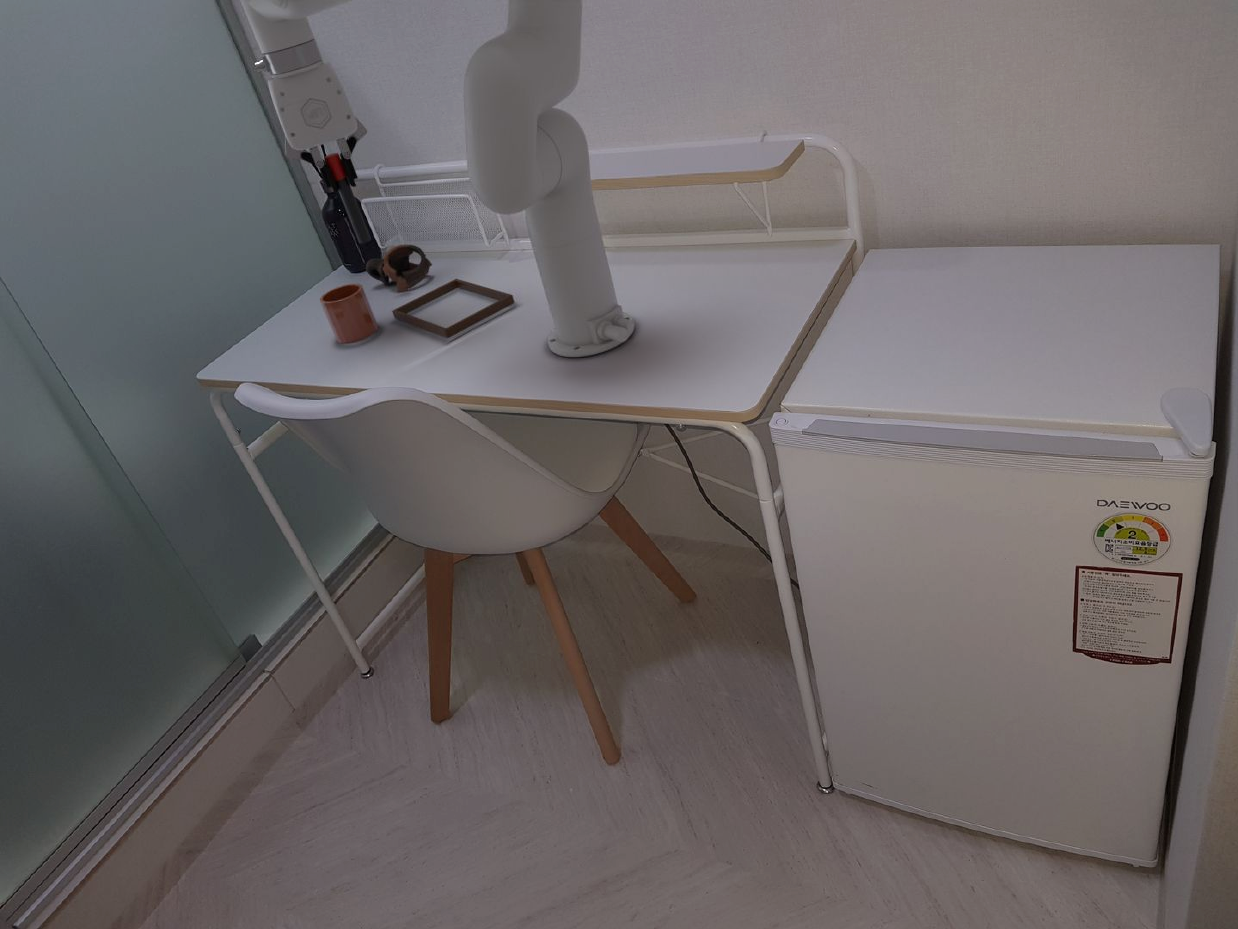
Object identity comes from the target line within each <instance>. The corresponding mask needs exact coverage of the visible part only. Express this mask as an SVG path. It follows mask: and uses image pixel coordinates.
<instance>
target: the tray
mask: <svg viewBox="0 0 1238 929" xmlns="http://www.w3.org/2000/svg"><path fill="white" fill-rule="evenodd" d="M456 289H461V290H465V291H466V292H467V291H468V292H471V293H474V294H478V295H480V296H484V297H487V298H490V299H494V300H497V301H495V302H493V303H491V304H490V305H488V306H485V307H484V308H482V309H480V310H478V311H476V312H474V313H472V314H469V315H468V316H466V317H464V318H463V319H461V320H459V321H457V322H455V323H454V324H452V325H450V326H447V327H445V326H441V325H438V324H436V323H432V322H430V321H427V320H425V319H422V318H419V317H416V316H413V315H411V314H408V313H411V312H413V311H415V310H417V309H418V308H420V307H422V306H425V305H427V304H429V303H430V302H433V301H435V300H436V299H438V298H440V297H442V296H444V295H446V294H449V293H450V292H451V291H454V290H456ZM513 304H515V299H514V296H513V294H511V293H508V292H504V291H500V290H497V289H493V288H490V287H486V286H483V285H480V284H476V283H473V282H470V281H466V280H462V279H459V278H455V279H453V280H450V281H449V282H447V283H445V284H442V285H441V286H439V287H437V288H435V289H432V290H430V291H429V292H426V293H425V294H423V295H421V296H419V297H416V298H414V299H413V300H411V301H409V302H407V303H405V304H403V305H401V306H399V307H397V308H395V309H392V310H391V312H392V315H393V317H394V319H395V320H398V321H401V322H404V323H407V324H409V325H412V326H414V327H417V328H420V329H421V330H425V331H427V332H430V333H433V334H434V335H438V336H440V337H443V338H446V339H450V338H452V337H453V336H455V335H456V334H458V333H461V332H462V331H464V330H466V329H468V328H470V327H471V326H474V325H476V324H477V323H479V322H481V321H483V320H485V319H487V318H488V317H491V316H492V315H494V314H496V313H498V312H500V311H502V310H503V309H505V308H507V307H510V306H511V305H513ZM516 307H517V306H516V305H515V306H512V307H511V308H510V309H508V310H506V311H504V312H502V313H500V314H499V315H497V316H494V317H493V318H491V319H489V320H487V321H485V322H484V323H482V324H480V325H478V326H476V327H474V328H473V329H471V330H469V331H467V332H465V333H463V334H461V335H459V336H457V337H456V338H453V339H451V340H449V343H451V342H453V341H454V340H456V339H459V338H460V337H462V336H465V335H466V334H468V333H470V332H472V331H473V330H475V329H477V328H479V327H481V326H483V325H484V324H486V323H488V322H490V321H492V320H494V319H495V318H496V319H497V317H499V316H501V315H503V314H505V313H507V312H509V311H511V310H512V309H514V308H516Z"/></svg>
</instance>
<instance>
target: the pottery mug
mask: <svg viewBox="0 0 1238 929" xmlns="http://www.w3.org/2000/svg"><path fill="white" fill-rule="evenodd" d="M414 253H416V254H418V255H419V256H420V262H419V263H414V262H410V256H411V255H413V254H414ZM426 256H427V255H426V254H425V252H424V251H423V250H422V248H420V247H419V246H416V245H413V244H400V245H397V246H393V247H392V248H390V249H389V250H388V251H387V252H386V253H385V255H384V257H383V258H377V257H375V258H371V259H369V260H368V261H367V262H366V265H365V271H366V273H367V275H369V277H371V278H373V279H374V280H377V281H379V282H381V283H382V284H383V285H384V286H385V287H387V286H389V284H390V280H391V281H392V282H393V281H394V282H395V283H396V292H397V293H405V292H409V289H412V288H413V287H415V286H416V285H418V284H419V283H421V282H423V280H424V279H426V277H427V276H426V275H428V274H429V272H430V267H432V266H433V263H431V260H429V259H428V258H427V257H426Z"/></svg>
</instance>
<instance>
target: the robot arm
mask: <svg viewBox="0 0 1238 929" xmlns="http://www.w3.org/2000/svg"><path fill="white" fill-rule="evenodd" d="M351 1H353V0H239V2H240V4H241V6H242V8H243V12H244V14H245V16H246V18H247V20H248V23H249V26H250V29H251V31H252V33H253V35H254V38H255V41H256V43H257V45H258V48H259V50H260V52H261V54H262V56H261V58H260V59H259V60H258V61H254V62H253V63H254V65H255V68H256V70H257V72H258V73H261V72H267V73H269V74H270V77H269V78H267V86H268V90H269V94H270V96H271V100H272V103H273V106H274V110H275V112H276V115H277V117H278V120H279V124H280V126H281V128H282V131H283V134H284V156H285V157H286V159H288V160H297V161H298V160H299V161H304V162H307V163H309V164H311V165H312V166H315V167H316V168H318V170H319V172H320V175H321V177H322V180H323V182H324V185H325V187H326V189H329V188H331V189H332V192H333V193H334V194H337V193H339V190H338V188H337V185H336V183H335V180H334V178H333V175H332V173H331V170H330V168H329V166H328V165H327V163H326V160H325V158H324V159H323V157H322V154H321V151H320V148H319V146H322V145H325V144H328V143H331V142H336V144H337V146H338V149H339V152H340V153H339V157H340V159H341V162H342V165H343V167H344V170H345V172H346V175H347V179H348V181H349V184H350V187H351V188H355V187H357V184H356V181H355V180H357V179H359V177H358V174H357V172H356V169H355V166H354V163H353V161H352V154H353V152H354V150H355V147H356V145H357V143H358V142H359V141H361V139H363V138H364V137H365V136H366V135H367V134H368V129H367V128H366V126H364V124H363V123H362V122H361V121H360V120H359V118H357V117H356V116H355V112H354V110H353V108H352V105H351V104H350V101H349V98H348V96H347V94H346V92H345V90H344V87H343V85H342V83H341V80H340V79H339V76H338V74H337V73H336V71H335V69H334V67H333V66H332V64H331V62H330V61H328V60H325V61H324V59H323V57H322V54H321V52H320V48H319V45H318V43H317V41H316V39H315V35H314V33H313V31H312V28H311V25H310V22H309V20H308V17H311V16H313V15H316V14H320V13H321V12H323V11H326V10H329V9H332V8H336V7H337V6H340V5H344V4H347V3H349V2H351ZM507 5H508V6H507V7H508V10H507V24H506V28H505V30H504V32H503V33H501V34H500V35H497V36H495V37H493V38H491V39H489V40H487V41H485V42H484V43H483V44H481V45H480V46H479V47H478V48H477V49H476V50H475V51H474V53H473V54H472V56H471V57H470V59H469V61H468V63H467V66H466V70H465V74H464V78H463V79H464V80H463V108H464V109H463V110H464V112H463V113H464V131H465V132H464V133H465V150H466V151H465V152H466V167H467V173H468V177H469V181H470V185H471V187H472V190H473V191H474V193H475V195H476V197H477V198H478V200H479V201H480V202H481V203H482V204H483V205H484V206H485V207H486V208H487V209H488V210H490V211H491V212H493V213H495V214H499V215H503V216H506V215H507V216H509V215H510V216H511V215H516V214H519V213H521V212H523V211H524V214H525V215H524V216H525V224H526V229H527V233H528V237H529V241H530V243H531V248H532V251H533V255H534V258H535V263H536V266H537V269H538V273H539V276H540V280H541V283H542V287H543V290H544V293H545V297H546V300H547V304H548V307H549V312H550V314H551V318H552V322H553V325H554V328H553V329H552V330H551V332H550V333H549V334H548V336H547V344H548V348H549V349H550V351H551V352H553V354H556V355H558V356H561V357H565V358H566V357H567V358H568V357H569V358H581V357H589V356H593V355H597V354H598V355H599V354H601V353H604V352H607V351H609V350H612V349H615V348H616V347H617V346H619V345H621V344H623V343H625V342H626V341H627V340H628V339H629V338H630V336H632V334H633V332H634V330H635V322H634V319H633V317H632V316H631V315H630V314H629V313H628V312H626V311H623V307H622V305H619V302H618V298H617V293H616V291H615V286H614V285H615V284H614V282H613V277H612V273H611V269H610V265H609V261H608V257H607V256H608V255H607V252H606V248H605V243H604V240H603V235H602V230H601V227H600V222H599V218H598V213H597V209H596V204H595V200H594V199H595V198H594V194H593V188H592V179H591V164H590V162H591V161H590V152H589V145H588V142H587V138H586V135H585V132H584V130H583V128H582V126H581V124H580V123H579V122H578V120H577V119H576V118H575V117H574V116H573V115H571V113H569V112H567V111H565V110H563V109H561V108H559V107H555V106H557V105H558V104H560V103H561V102H563V101H565V100H566V99H567V98H568V97H569V96H571V94H572V93H573V92H574V91H575V89H576V87H577V85H578V82H579V79H580V74H581V73H580V72H581V71H580V70H581V54H582V53H581V52H582V51H581V50H582V24H583V23H582V22H583V20H582V19H583V0H508V4H507ZM307 150H309V151H307Z"/></svg>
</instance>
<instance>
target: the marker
mask: <svg viewBox="0 0 1238 929" xmlns="http://www.w3.org/2000/svg"><path fill="white" fill-rule="evenodd" d="M324 160H325V162H326V164H327V165H328V166H329V168H330V170H331V173H332V175H333V178H334V180H335V183H336V185H337V188H338V190H339V191H338V193H339V195H340V198H341V200H342V203H343V206H344V208H345V211H346V213H347V216H348V219H349V221H350V224H351V226H352V228H353V231H354V233H355V236H356V238H357V242H358V243H359V244H366V243H369V242H370V241H371V240H372V238H371V234H370V232H369V230H368V227H367V225H366V223H365V220H364V217H363V215H362V212H361V209H360V207H359V205H358V202H357V200H356V197H355V194H354V192H353V189H352V187H351V185H350V184H349V181H348V179H347V175H346V172H345V170H344V167H343V165H342V162H341V157H340V153H338V152H334V153H330V154H327V155H326V156H324Z"/></svg>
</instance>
